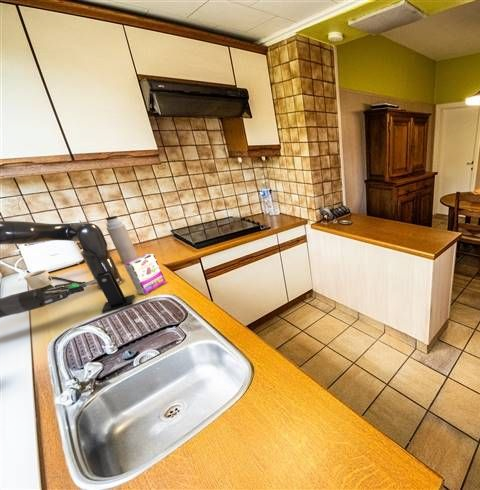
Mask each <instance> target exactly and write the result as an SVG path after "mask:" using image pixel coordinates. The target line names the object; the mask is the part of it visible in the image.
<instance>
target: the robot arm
mask: <svg viewBox="0 0 480 490" xmlns="http://www.w3.org/2000/svg"><path fill="white" fill-rule="evenodd" d="M47 241H69V242H79V244H80V246H81V248H82V250H81V252H80V255H81V256H82V258H83V261H84V262H85V264H86V266H87V268H88V270H89V272H90V273H91V275H92V277H93V280H95V279H96V277H98V273H102V272H106V271H110V270H112V272H113V274H114V276H115V278H116V280H117V282H118V284H119V285H120V284H122V283H123V282H124V279H123V278H122V276H121V274H120V272H119V269H118V268H117V266H116V264H115V261H114V259H113V257H112V254H111V253H110V251H109V249H108V243H107V240H106V237H105V236H104V233H103V230H101V228H100V227H99V226H98V225H97V224H95V223H91V222H82V221H81V222H67V223H45V222H36V221H24V220H22V221H21V220H0V245H25V244H26V245H27V244H36V243H42V242H47ZM51 278H52V279H54V280H60V281H65V282H67V283H60V284H55V285H53V286H54V287H55V288H51V289H48V290H47V291H42V290H41V289H29V290H25V291H21V292H18V293H14V294H10V295H7V296H4V297H0V319H1V318H4V317H5V318H6V317H10V316H13V315H18V314H21V313H26V312H29V311H33V310H36V309H37V310H38V309H40V308H43V307H46V306H48V305H51V304H54V303H57V302H59V301H63V300H65V299H68V298H69V297H70V296H72V295H73V294H77V293H82V292H84V291H85V288H87V286H84V287H83V286H78V287H75V288H71V289H68V287H69V286H70V285H71V284H79V285H80V284H83V283H86V281H75V280H72V279H67V278H64V277H63V278H62V277H58V276H51ZM94 284H96V285H97V286H98V287H97V288H98V289H100V290H102V289H101V288H100V286H99V284H98V282H95V283H93V284H92V285H94Z"/></svg>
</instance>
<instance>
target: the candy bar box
mask: <svg viewBox="0 0 480 490" xmlns="http://www.w3.org/2000/svg"><path fill="white" fill-rule="evenodd" d="M123 267H124V268H125V270H126V272H127V274H128V276H129V277H130V280H131V282H132V283H133V286H134V288H135V289H136V292H137V293H138V295H148V294H149V293H151V292H152V291H155V290H156V289H158V288H159V287H160V286H162V285H164V284H166V283H167V281H166V279H165V277H164V273H163V272H162V269H161V268H160V265H159V263H158V261H157V259H156V256H155V254H154V253H144V254H142V255H139V256H138V258H136V259H134V260H131V261H129V262H127V263H123Z"/></svg>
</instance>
